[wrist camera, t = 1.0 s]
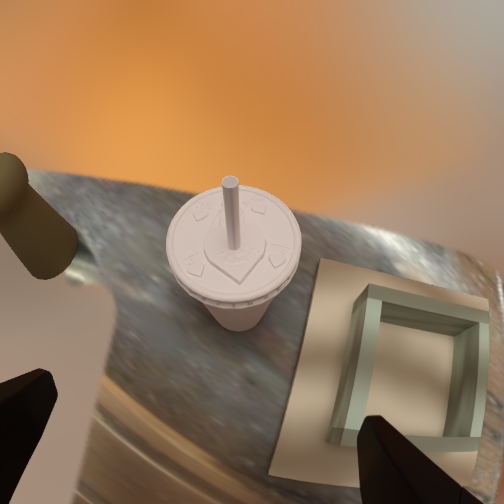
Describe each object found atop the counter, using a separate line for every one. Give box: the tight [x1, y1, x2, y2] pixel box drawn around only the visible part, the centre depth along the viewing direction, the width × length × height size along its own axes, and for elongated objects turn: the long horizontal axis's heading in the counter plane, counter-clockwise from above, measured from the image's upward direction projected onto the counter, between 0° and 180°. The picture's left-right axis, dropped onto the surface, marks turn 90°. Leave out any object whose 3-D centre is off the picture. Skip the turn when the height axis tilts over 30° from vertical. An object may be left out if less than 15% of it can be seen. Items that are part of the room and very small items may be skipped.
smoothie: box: [166, 176, 301, 332], centre depth 17 cm, size 6×6×14 cm
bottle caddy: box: [267, 258, 489, 487], centre depth 18 cm, size 16×16×4 cm
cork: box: [0, 152, 78, 280], centre depth 21 cm, size 6×6×11 cm
